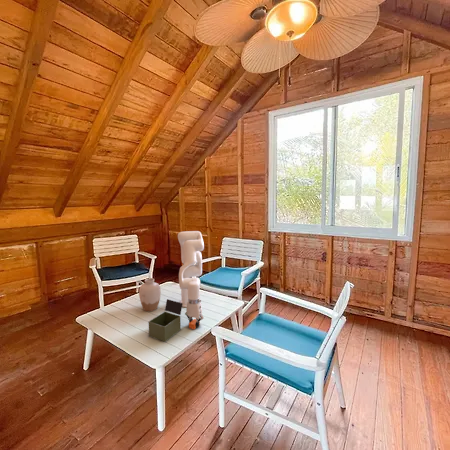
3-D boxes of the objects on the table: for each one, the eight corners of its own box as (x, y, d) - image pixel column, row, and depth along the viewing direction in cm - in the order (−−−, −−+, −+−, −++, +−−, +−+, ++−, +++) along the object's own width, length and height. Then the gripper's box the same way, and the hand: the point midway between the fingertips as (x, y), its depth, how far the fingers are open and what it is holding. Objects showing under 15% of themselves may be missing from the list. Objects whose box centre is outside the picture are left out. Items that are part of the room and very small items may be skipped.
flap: (164, 310, 167) (165, 310, 168) (180, 315, 161) (180, 314, 162) (166, 299, 169) (167, 299, 169) (182, 303, 163) (182, 303, 163)
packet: (194, 323, 171) (194, 318, 170) (199, 324, 169) (199, 320, 168) (188, 327, 165) (188, 323, 165) (194, 329, 163) (194, 325, 163)
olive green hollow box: (165, 324, 169) (164, 311, 168) (180, 329, 163) (180, 316, 162) (148, 335, 156) (148, 321, 154) (165, 341, 150) (164, 327, 148)
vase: (162, 302, 201) (161, 275, 197) (160, 312, 185) (159, 283, 182) (141, 304, 198) (140, 276, 195) (138, 314, 183) (136, 284, 179)
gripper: (207, 300, 164) (207, 326, 166) (186, 295, 171) (187, 320, 174) (201, 305, 157) (201, 332, 160) (180, 299, 165) (180, 325, 168)
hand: (194, 325), depth 167 cm, fingers closed on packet, 4 cm apart
